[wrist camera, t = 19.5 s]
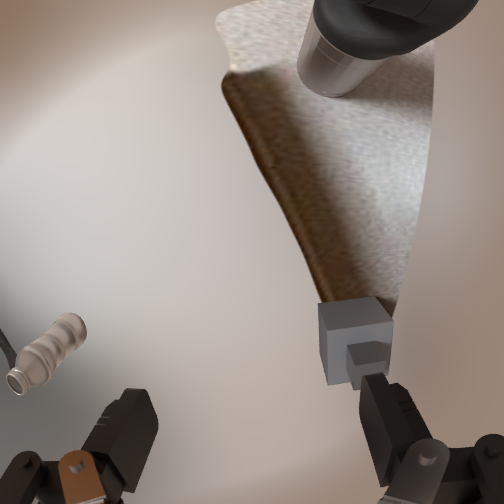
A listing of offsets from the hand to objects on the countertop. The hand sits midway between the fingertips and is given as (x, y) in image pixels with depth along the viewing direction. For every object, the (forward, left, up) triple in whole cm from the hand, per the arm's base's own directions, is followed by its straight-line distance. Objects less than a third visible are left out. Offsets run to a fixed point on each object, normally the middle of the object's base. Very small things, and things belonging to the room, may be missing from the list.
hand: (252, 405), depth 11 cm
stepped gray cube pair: (+17, +12, -36) cm, 42 cm away
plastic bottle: (+14, -36, -36) cm, 53 cm away
